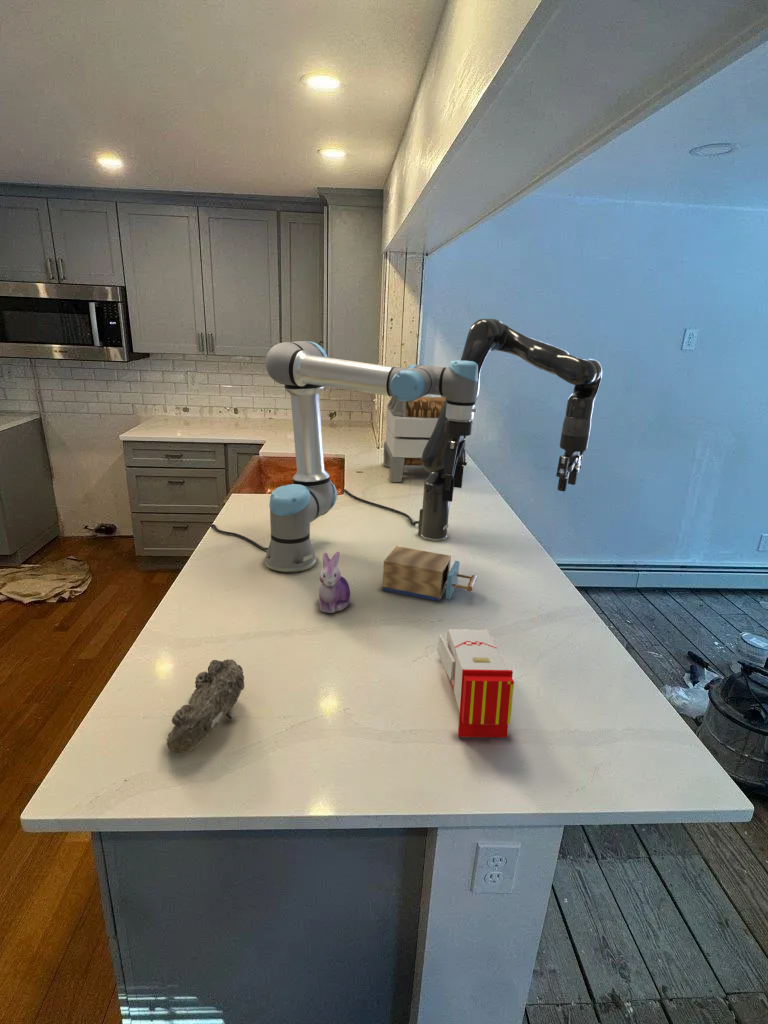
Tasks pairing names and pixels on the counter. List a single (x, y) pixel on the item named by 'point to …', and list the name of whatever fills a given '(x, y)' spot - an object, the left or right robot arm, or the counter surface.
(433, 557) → the cabinet
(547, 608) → the counter surface
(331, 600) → the figurine
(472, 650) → the toy
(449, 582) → the drawer
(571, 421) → the right robot arm
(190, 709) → the fossil
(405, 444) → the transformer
